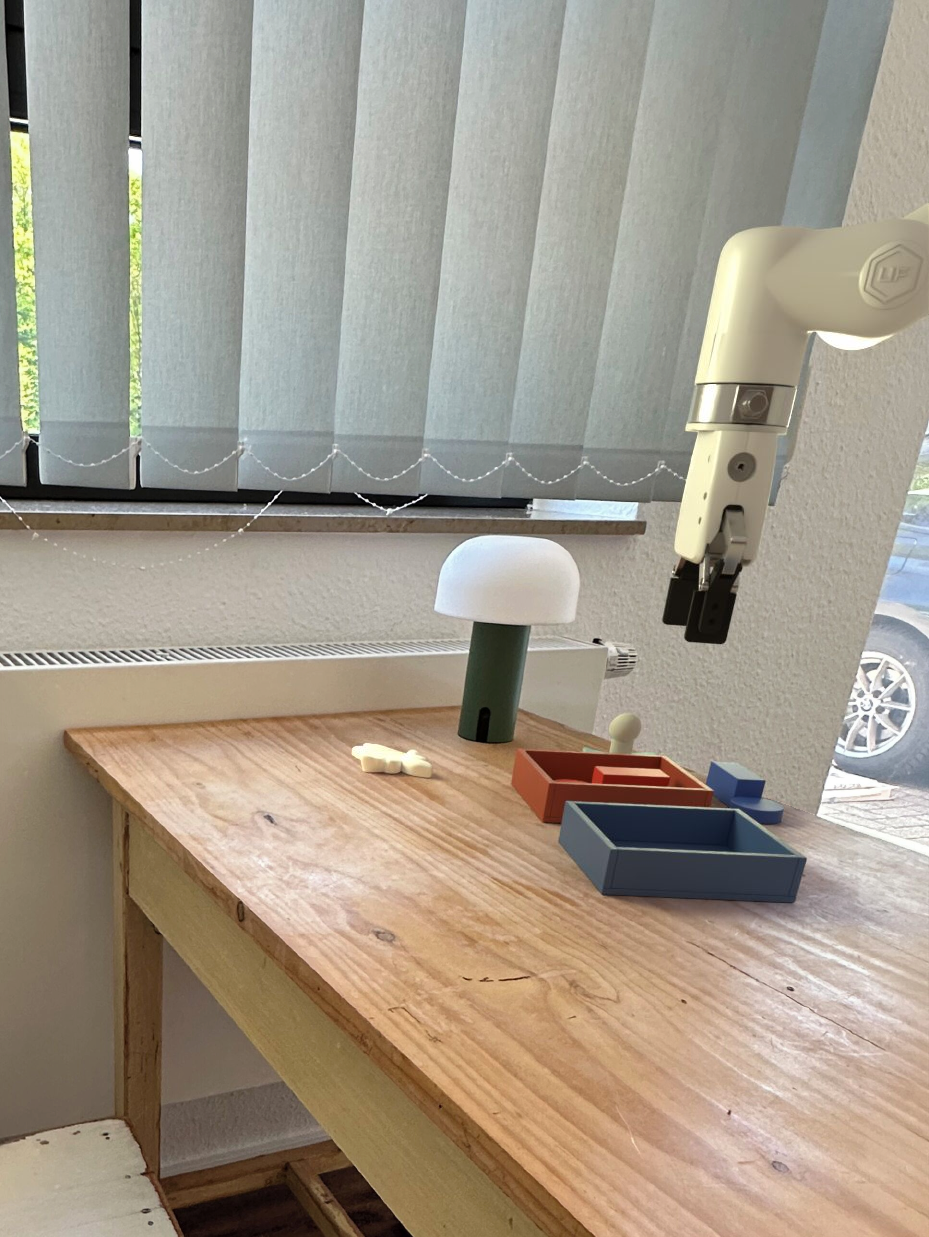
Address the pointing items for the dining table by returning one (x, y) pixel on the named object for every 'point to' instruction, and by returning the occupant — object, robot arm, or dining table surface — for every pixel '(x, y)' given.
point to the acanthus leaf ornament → (391, 760)
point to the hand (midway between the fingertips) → (691, 633)
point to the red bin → (549, 797)
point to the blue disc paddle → (743, 791)
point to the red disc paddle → (627, 777)
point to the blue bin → (679, 852)
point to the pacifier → (623, 735)
